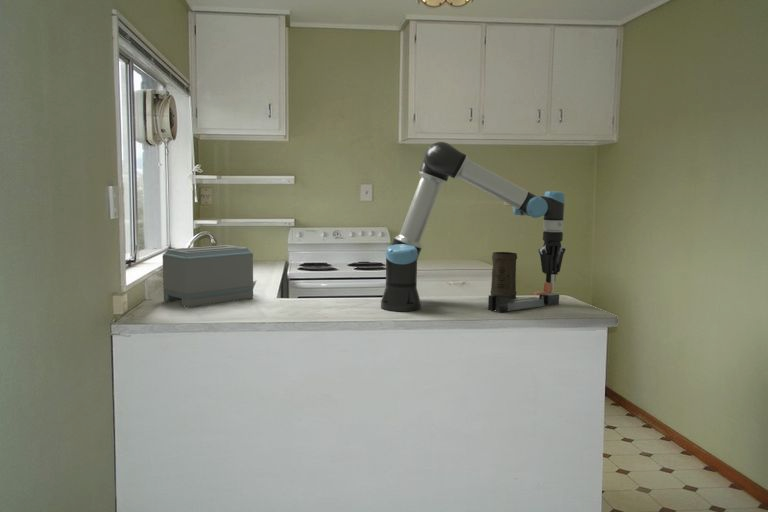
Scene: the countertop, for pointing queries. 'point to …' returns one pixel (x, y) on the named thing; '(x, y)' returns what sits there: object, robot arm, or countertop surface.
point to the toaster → (207, 275)
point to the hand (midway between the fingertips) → (550, 290)
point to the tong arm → (517, 304)
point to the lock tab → (546, 289)
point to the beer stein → (504, 274)
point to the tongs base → (548, 299)
